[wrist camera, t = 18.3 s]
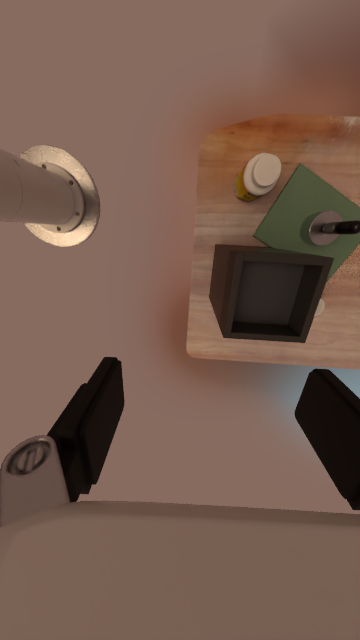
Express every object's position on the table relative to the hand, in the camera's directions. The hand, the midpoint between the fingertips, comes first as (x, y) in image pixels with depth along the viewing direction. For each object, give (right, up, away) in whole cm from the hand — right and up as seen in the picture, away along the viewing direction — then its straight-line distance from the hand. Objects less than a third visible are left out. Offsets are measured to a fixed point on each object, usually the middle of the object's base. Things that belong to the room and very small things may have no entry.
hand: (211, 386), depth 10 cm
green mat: (+26, +22, +31) cm, 46 cm away
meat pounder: (+26, +22, +31) cm, 46 cm away
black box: (+12, +14, +35) cm, 40 cm away
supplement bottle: (+11, +29, +29) cm, 43 cm away
